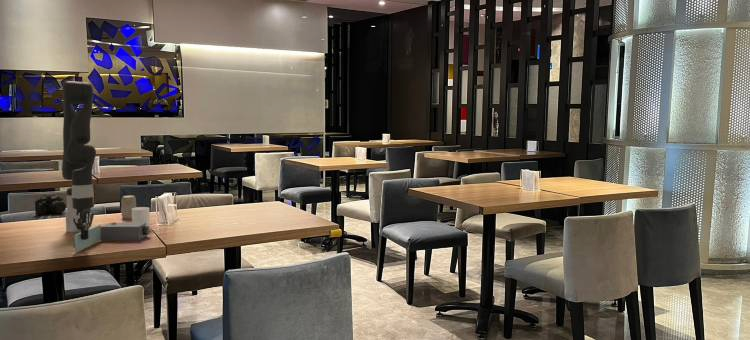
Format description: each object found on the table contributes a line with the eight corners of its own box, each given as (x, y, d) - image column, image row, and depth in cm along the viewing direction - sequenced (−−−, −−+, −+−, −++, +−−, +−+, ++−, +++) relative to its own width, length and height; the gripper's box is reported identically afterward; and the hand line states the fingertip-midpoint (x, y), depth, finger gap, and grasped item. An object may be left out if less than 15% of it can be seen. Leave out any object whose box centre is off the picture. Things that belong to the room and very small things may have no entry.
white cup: (132, 231, 260) (132, 210, 259) (131, 228, 267) (130, 207, 266) (151, 230, 263) (150, 209, 262) (149, 227, 270) (148, 206, 269)
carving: (139, 218, 293) (138, 195, 292) (127, 220, 286) (126, 197, 285) (131, 217, 296) (130, 194, 295) (118, 219, 289) (118, 196, 288)
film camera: (55, 215, 299) (54, 197, 298) (32, 215, 299) (31, 197, 298) (73, 210, 317) (72, 192, 316) (51, 210, 317) (50, 192, 316)
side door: (97, 239, 240) (96, 224, 239) (101, 239, 240) (101, 224, 239) (73, 251, 219) (72, 234, 218) (77, 251, 219) (77, 234, 218)
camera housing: (101, 240, 240) (100, 225, 240) (109, 236, 249) (109, 221, 249) (142, 240, 241) (142, 225, 240) (149, 236, 250) (149, 221, 249)
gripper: (81, 193, 227) (83, 235, 229) (64, 198, 214) (66, 243, 216) (100, 193, 227) (101, 235, 229) (84, 198, 214) (86, 243, 216)
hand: (84, 239), depth 222 cm, fingers closed
